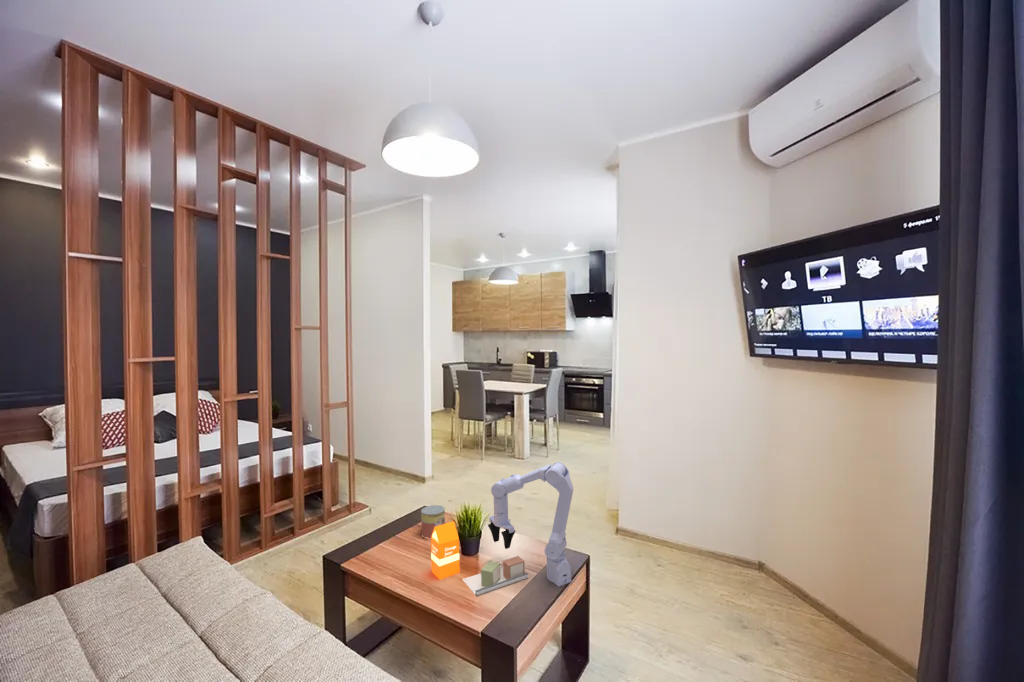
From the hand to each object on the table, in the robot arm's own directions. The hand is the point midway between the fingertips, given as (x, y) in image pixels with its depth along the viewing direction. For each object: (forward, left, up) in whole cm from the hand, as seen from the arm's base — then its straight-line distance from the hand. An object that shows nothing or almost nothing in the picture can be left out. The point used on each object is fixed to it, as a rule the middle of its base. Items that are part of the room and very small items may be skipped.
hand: (501, 544), depth 173 cm
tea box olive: (-7, +9, -9) cm, 15 cm away
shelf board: (-6, +7, -10) cm, 13 cm away
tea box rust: (-9, 0, -9) cm, 12 cm away
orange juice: (+9, +21, -10) cm, 25 cm away
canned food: (+46, +13, -10) cm, 49 cm away
